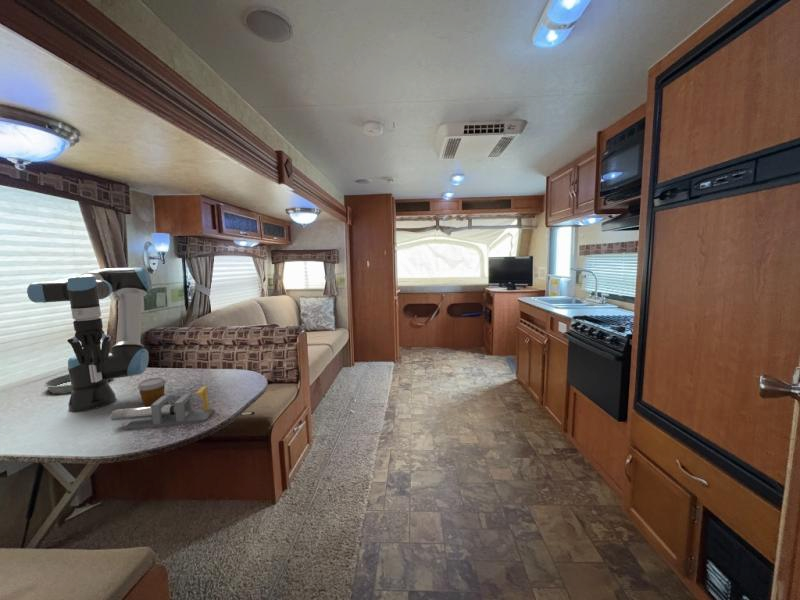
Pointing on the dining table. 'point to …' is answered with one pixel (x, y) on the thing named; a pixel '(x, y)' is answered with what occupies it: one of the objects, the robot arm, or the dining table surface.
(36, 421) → the dining table surface
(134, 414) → the aluminium tube
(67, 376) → the cake pan
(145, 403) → the disposable coffee cup
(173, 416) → the collar bench
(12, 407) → the dining table surface
